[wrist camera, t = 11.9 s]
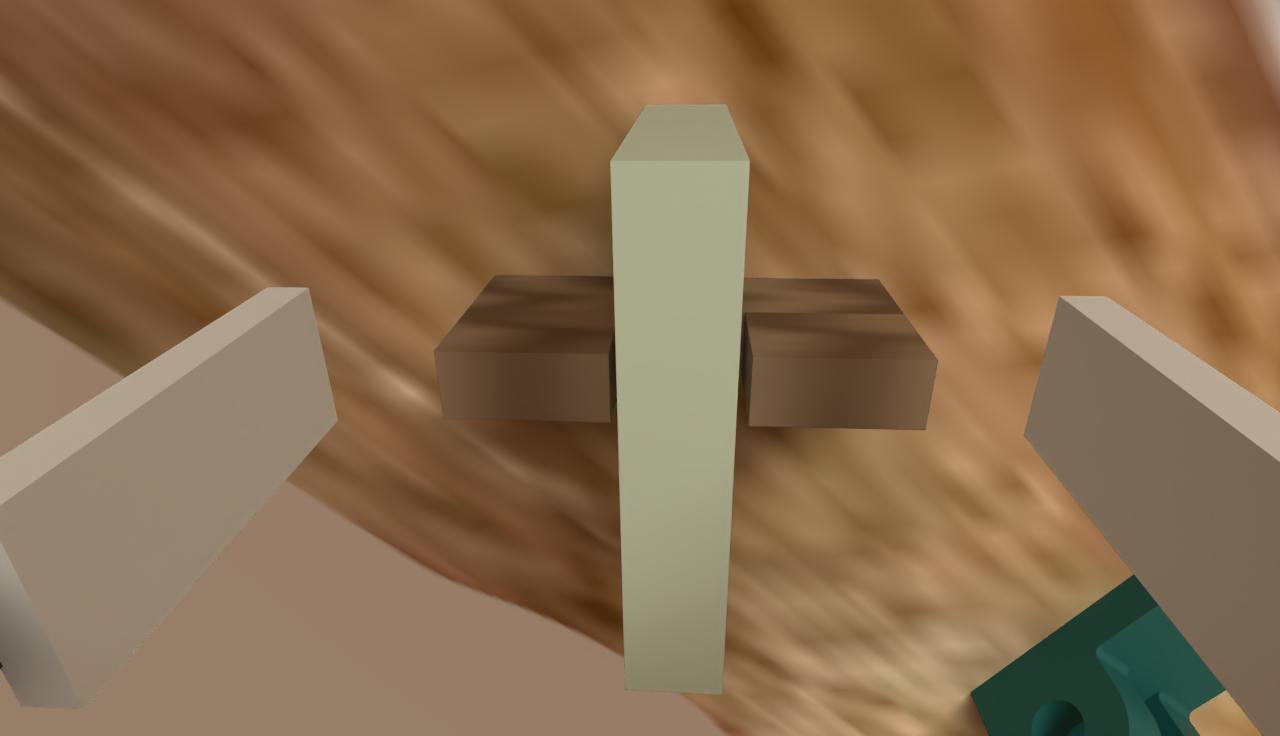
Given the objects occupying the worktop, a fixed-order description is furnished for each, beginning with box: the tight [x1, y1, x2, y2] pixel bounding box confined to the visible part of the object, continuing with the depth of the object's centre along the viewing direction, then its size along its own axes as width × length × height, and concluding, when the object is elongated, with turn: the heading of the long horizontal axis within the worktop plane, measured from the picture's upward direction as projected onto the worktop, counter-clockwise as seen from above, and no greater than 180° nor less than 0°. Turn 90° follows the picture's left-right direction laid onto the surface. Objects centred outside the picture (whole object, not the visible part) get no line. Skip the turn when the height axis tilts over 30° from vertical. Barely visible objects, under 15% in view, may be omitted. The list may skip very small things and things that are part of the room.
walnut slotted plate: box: [434, 275, 938, 430], centre depth 27 cm, size 16×2×8 cm, turn 91°
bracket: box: [971, 575, 1226, 736], centre depth 33 cm, size 18×7×8 cm, turn 144°
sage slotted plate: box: [610, 104, 750, 695], centre depth 25 cm, size 16×3×13 cm, turn 1°
